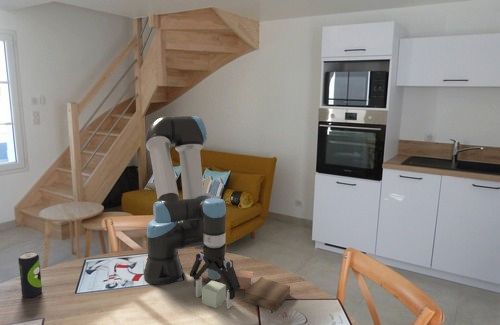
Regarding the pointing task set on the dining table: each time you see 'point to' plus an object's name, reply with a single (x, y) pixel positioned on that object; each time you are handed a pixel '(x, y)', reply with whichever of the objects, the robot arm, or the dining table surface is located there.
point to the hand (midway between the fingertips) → (214, 301)
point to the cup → (213, 274)
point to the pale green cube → (213, 294)
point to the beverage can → (30, 274)
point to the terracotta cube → (245, 279)
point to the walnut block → (267, 294)
